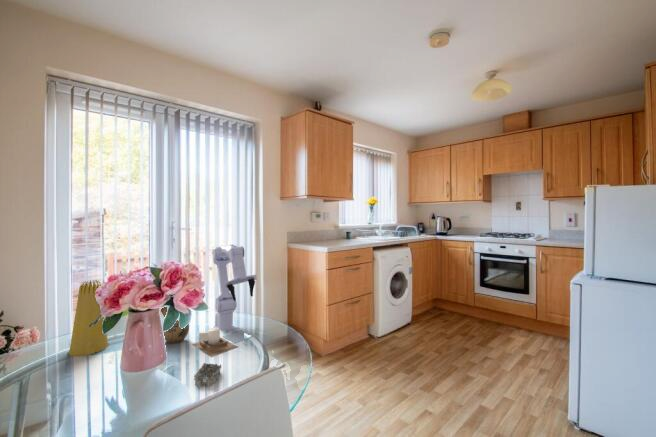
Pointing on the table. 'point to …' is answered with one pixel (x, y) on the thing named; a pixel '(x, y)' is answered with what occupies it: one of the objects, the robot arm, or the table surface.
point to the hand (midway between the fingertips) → (243, 298)
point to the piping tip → (87, 323)
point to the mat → (235, 336)
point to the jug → (210, 336)
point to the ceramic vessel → (175, 331)
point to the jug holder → (215, 347)
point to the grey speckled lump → (210, 376)
